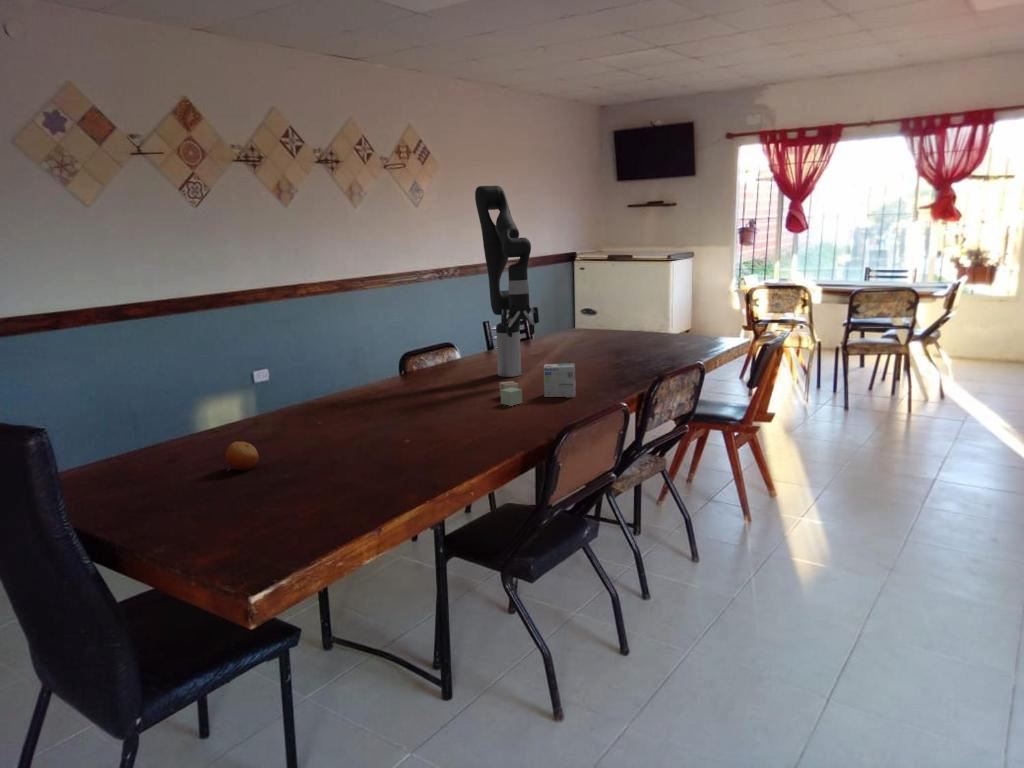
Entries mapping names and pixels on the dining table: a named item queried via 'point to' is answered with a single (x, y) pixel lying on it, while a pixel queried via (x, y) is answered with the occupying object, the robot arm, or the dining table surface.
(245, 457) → the fruit
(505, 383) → the beech block
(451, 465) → the dining table surface
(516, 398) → the sage block
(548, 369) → the light bulb box
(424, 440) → the dining table surface
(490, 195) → the robot arm
